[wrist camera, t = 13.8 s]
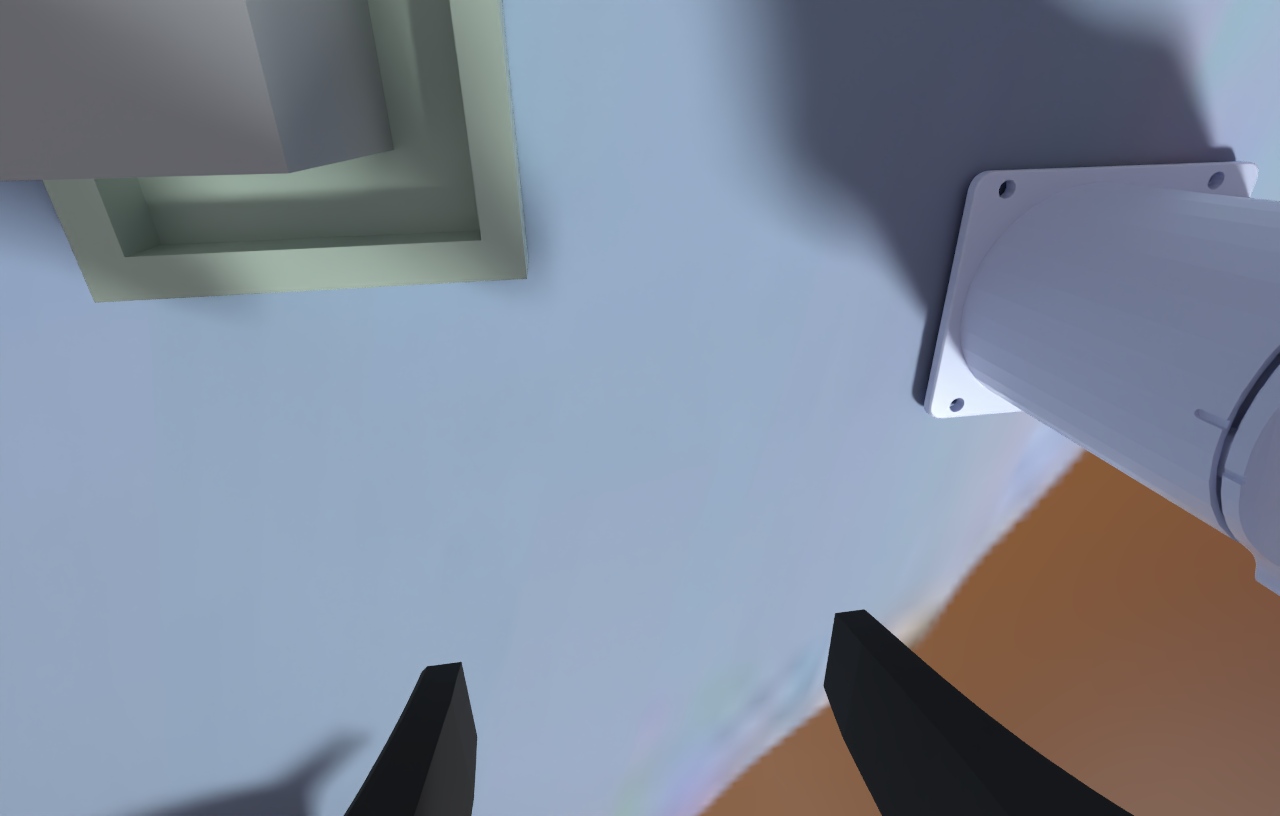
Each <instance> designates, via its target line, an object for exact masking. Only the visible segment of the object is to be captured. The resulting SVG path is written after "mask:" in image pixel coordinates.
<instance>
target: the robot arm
mask: <svg viewBox="0 0 1280 816" xmlns="http://www.w3.org/2000/svg"><path fill="white" fill-rule="evenodd" d="M1257 177H1258V167H1257V165H1256V164H1255V163H1252V162H1243V161H1234V162H1207V163H1180V164H1153V165H1126V166H1100V167H1073V168H1046V169H1019V170H992V171H984V172H981V173H980V174H978V175H977V176H975V178H974V179H973V180H972V182H971V183H970V186H969V189H968V193H967V198H966V203H965V207H964V212H963V217H962V222H961V227H960V232H959V236H958V241H957V246H956V251H955V256H954V261H953V266H952V270H951V275H950V280H949V285H948V290H947V295H946V300H945V304H944V309H943V314H942V319H941V324H940V329H939V334H938V338H937V343H936V348H935V353H934V358H933V363H932V368H931V372H930V377H929V382H928V387H927V392H926V397H925V402H924V409H925V411H926V412H927V413H928V414H930V415H931V416H932V417H934V418H939V419H941V418H952V417H963V416H974V415H985V414H996V413H1007V412H1018V411H1024V412H1025V413H1027V414H1029V415H1030V416H1032V417H1034V418H1035V419H1037V420H1039V421H1040V422H1042V423H1043V424H1045V425H1047V426H1048V427H1050V428H1052V429H1053V430H1055V431H1057V432H1058V433H1060V434H1061V435H1063V436H1065V437H1066V438H1068V439H1070V440H1071V441H1073V442H1075V443H1076V444H1078V445H1079V446H1081V447H1083V448H1084V449H1086V450H1088V451H1089V452H1091V453H1093V454H1094V455H1096V456H1098V457H1099V458H1101V459H1102V460H1104V461H1106V462H1107V463H1109V464H1111V465H1112V466H1114V467H1115V468H1117V469H1119V470H1120V471H1122V472H1124V473H1125V474H1127V475H1129V476H1130V477H1132V478H1133V479H1135V480H1137V481H1138V482H1140V483H1142V484H1143V485H1145V486H1147V487H1148V488H1150V489H1151V490H1153V491H1155V492H1156V493H1158V494H1160V495H1162V496H1163V497H1165V498H1166V499H1168V500H1169V501H1171V502H1173V503H1175V504H1176V505H1178V506H1180V507H1181V508H1183V509H1184V510H1186V511H1188V512H1189V513H1191V514H1192V515H1194V516H1196V517H1197V518H1199V519H1201V520H1202V521H1204V522H1205V523H1207V524H1209V525H1210V526H1212V527H1214V528H1215V529H1217V530H1219V531H1220V532H1222V533H1224V534H1225V535H1227V536H1228V537H1230V538H1232V539H1234V540H1235V541H1237V542H1240V543H1241V544H1243V545H1244V546H1245V547H1246V548H1247V549H1248V550H1249V551H1250V552H1251V553H1252V554H1253V555H1254V558H1255V560H1256V572H1255V579H1256V581H1258V582H1259V583H1261V584H1262V585H1264V586H1265V587H1267V588H1269V589H1270V590H1272V591H1273V592H1275V593H1276V594H1278V595H1279V596H1280V201H1272V200H1263V199H1255V198H1250V195H1251V193H1252V190H1253V188H1254V185H1255V183H1256V180H1257ZM1210 178H1211V180H1210V182H1209V183H1208V181H1209V179H1210ZM1003 182H1006V189H1005V192H1004V193H1003V194H1002V195H1001V196H1000V195H999V188H1000V186H1001V184H1002V183H1003ZM954 399H957V401H956V403H955V404H954V405H953V406H950V404H951V402H952V401H953V400H954ZM824 688H825V691H826V694H827V697H828V700H829V702H830V705H831V708H832V710H833V713H834V716H835V719H836V721H837V723H838V726H839V729H840V731H841V734H842V737H843V739H844V741H845V743H846V745H847V747H848V749H849V751H850V753H851V755H852V757H853V759H854V761H855V763H856V765H857V767H858V769H859V771H860V773H861V775H862V777H863V779H864V781H865V783H866V785H867V787H868V789H869V791H870V793H871V795H872V797H873V799H874V801H875V803H876V804H877V807H878V809H879V811H880V812H881V814H882V816H1134V815H1132V814H1131V813H1129V812H1127V811H1125V810H1124V809H1122V808H1121V807H1119V806H1117V805H1116V804H1114V803H1113V802H1111V801H1110V800H1108V799H1106V798H1105V797H1103V796H1102V795H1100V794H1099V793H1097V792H1095V791H1094V790H1092V789H1091V788H1089V787H1088V786H1087V785H1085V784H1084V783H1082V782H1081V781H1079V780H1078V779H1076V778H1075V777H1073V776H1072V775H1070V774H1069V773H1067V772H1066V771H1064V770H1063V769H1062V768H1060V767H1059V766H1057V765H1056V764H1054V763H1052V762H1051V761H1050V760H1048V759H1047V758H1045V757H1044V756H1043V755H1041V754H1040V753H1039V752H1037V751H1036V750H1034V749H1033V748H1031V747H1030V746H1029V745H1027V744H1026V743H1025V742H1023V741H1022V740H1021V739H1019V738H1018V737H1017V736H1015V735H1014V734H1013V733H1011V732H1010V731H1009V730H1008V729H1006V728H1005V727H1004V726H1002V725H1001V724H1000V723H998V722H997V721H996V720H994V719H993V718H992V717H990V716H989V715H988V714H987V713H985V712H984V711H983V710H981V709H980V708H979V707H978V706H976V705H975V704H974V703H973V702H972V701H970V700H969V699H968V698H967V697H965V696H964V695H963V694H962V693H961V692H960V691H958V690H957V689H956V688H955V687H953V686H952V685H951V684H950V683H949V682H947V681H946V680H945V679H944V678H942V677H941V676H940V675H939V674H938V673H937V672H936V671H934V670H933V669H932V668H931V667H930V666H929V665H927V664H926V663H925V662H924V661H923V660H922V659H921V658H919V657H918V656H917V655H916V654H915V653H914V652H912V651H911V650H910V649H909V648H908V647H907V646H906V645H904V644H903V643H902V642H901V641H900V640H899V639H898V638H897V637H895V636H894V635H893V634H892V633H891V632H890V631H889V630H887V629H886V628H885V627H884V626H883V625H882V624H881V623H879V622H878V621H877V620H876V619H875V618H874V617H873V616H871V615H870V614H869V613H868V612H867V611H866V610H857V611H849V612H841V613H835V618H834V624H833V631H832V637H831V643H830V649H829V655H828V662H827V668H826V674H825V680H824ZM476 749H477V733H476V729H475V724H474V719H473V715H472V710H471V705H470V700H469V696H468V691H467V686H466V681H465V677H464V672H463V667H462V662H458V663H450V664H442V665H435V666H427V667H426V668H425V669H424V670H423V671H422V673H421V675H420V677H419V679H418V681H417V684H416V686H415V688H414V690H413V692H412V694H411V696H410V698H409V700H408V702H407V704H406V706H405V708H404V710H403V712H402V714H401V716H400V718H399V720H398V722H397V724H396V726H395V728H394V730H393V731H392V733H391V735H390V737H389V739H388V741H387V743H386V745H385V746H384V748H383V750H382V752H381V753H380V755H379V757H378V759H377V760H376V762H375V764H374V766H373V767H372V769H371V771H370V773H369V775H368V776H367V778H366V780H365V782H364V783H363V785H362V787H361V789H360V790H359V792H358V794H357V795H356V797H355V799H354V800H353V802H352V803H351V805H350V807H349V808H348V810H347V811H346V813H345V815H344V816H471V814H472V807H473V800H474V787H475V770H476Z"/></svg>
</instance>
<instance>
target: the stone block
mask: <svg viewBox="0 0 1280 816" xmlns="http://www.w3.org/2000/svg"><path fill="white" fill-rule="evenodd" d="M391 150H394V146H393V140H392V135H391V129H390V124H389V118H388V112H387V107H386V101H385V95H384V90H383V84H382V79H381V73H380V67H379V62H378V56H377V50H376V45H375V39H374V34H373V28H372V22H371V17H370V11H369V5H368V0H0V181H22V180H60V179H97V178H135V177H173V176H211V175H249V174H287V173H293V172H297V171H302V170H306V169H311V168H315V167H320V166H324V165H329V164H333V163H338V162H342V161H347V160H351V159H356V158H360V157H365V156H369V155H374V154H378V153H383V152H387V151H391Z"/></svg>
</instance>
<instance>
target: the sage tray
mask: <svg viewBox="0 0 1280 816" xmlns="http://www.w3.org/2000/svg"><path fill="white" fill-rule="evenodd" d="M368 5H369V11H370V17H371V22H372V28H373V34H374V39H375V45H376V50H377V56H378V62H379V67H380V73H381V79H382V84H383V90H384V95H385V101H386V107H387V112H388V118H389V124H390V129H391V135H392V140H393V146H394V150H391V151H387V152H383V153H378V154H374V155H369V156H365V157H360V158H356V159H351V160H347V161H342V162H338V163H333V164H329V165H324V166H320V167H315V168H311V169H306V170H302V171H297V172H293V173H287V174H249V175H211V176H173V177H135V178H97V179H60V180H42V181H43V183H44V185H45V188H46V190H47V192H48V195H49V197H50V199H51V202H52V204H53V206H54V209H55V211H56V213H57V216H58V218H59V220H60V223H61V225H62V227H63V230H64V232H65V234H66V237H67V239H68V241H69V244H70V246H71V248H72V251H73V253H74V255H75V258H76V260H77V262H78V265H79V267H80V269H81V272H82V274H83V276H84V279H85V281H86V283H87V286H88V288H89V290H90V293H91V295H92V297H93V300H94V302H95V303H96V302H114V301H132V300H150V299H168V298H186V297H204V296H222V295H240V294H258V293H276V292H294V291H312V290H330V289H348V288H366V287H384V286H402V285H420V284H439V283H457V282H475V281H493V280H511V279H527V274H528V263H529V261H528V251H527V241H526V231H525V222H524V212H523V202H522V192H521V182H520V172H519V162H518V153H517V143H516V133H515V123H514V113H513V103H512V93H511V83H510V74H509V64H508V54H507V44H506V34H505V24H504V14H503V5H502V0H368Z"/></svg>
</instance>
